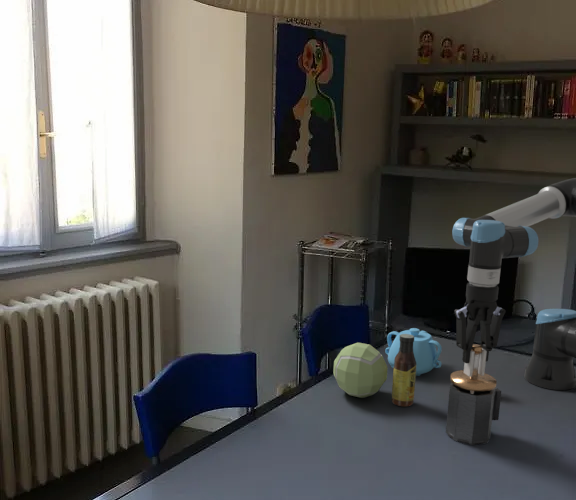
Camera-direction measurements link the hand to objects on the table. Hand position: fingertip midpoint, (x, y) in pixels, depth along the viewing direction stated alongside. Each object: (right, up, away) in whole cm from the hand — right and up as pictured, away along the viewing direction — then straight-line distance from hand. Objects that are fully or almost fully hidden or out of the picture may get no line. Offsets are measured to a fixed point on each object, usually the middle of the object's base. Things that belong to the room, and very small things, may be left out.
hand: (473, 373), depth 160 cm
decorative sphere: (-26, -11, +25) cm, 38 cm away
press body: (+1, -16, +4) cm, 16 cm away
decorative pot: (-7, -8, +46) cm, 48 cm away
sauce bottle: (-14, -12, +21) cm, 28 cm away
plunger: (-1, -14, +3) cm, 14 cm away
